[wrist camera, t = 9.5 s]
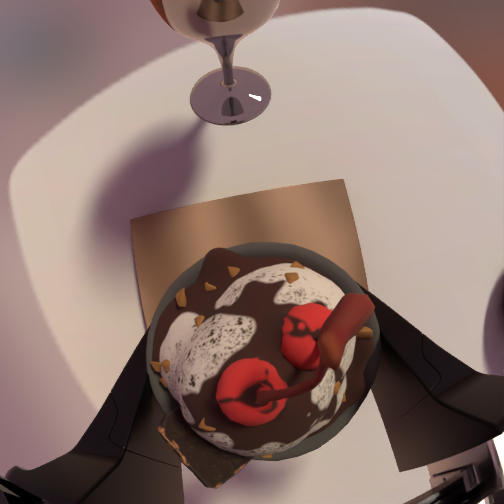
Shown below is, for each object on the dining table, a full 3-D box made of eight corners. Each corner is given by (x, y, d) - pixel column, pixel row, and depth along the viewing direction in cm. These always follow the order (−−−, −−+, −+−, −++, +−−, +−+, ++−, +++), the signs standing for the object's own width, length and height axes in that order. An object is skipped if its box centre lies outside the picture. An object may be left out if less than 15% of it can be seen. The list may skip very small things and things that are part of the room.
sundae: (291, 248, 17) (450, 110, 2) (322, 346, 16) (487, 495, 2) (192, 281, 17) (-30, 276, 2) (226, 378, 16) (162, 586, 1)
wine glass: (168, 99, 21) (108, -34, 6) (230, 53, 21) (218, -74, 6) (230, 146, 20) (201, -27, 5) (294, 92, 21) (324, -55, 6)
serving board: (177, 418, 18) (174, 424, 17) (135, 222, 20) (130, 219, 19) (373, 381, 18) (378, 385, 17) (339, 183, 20) (343, 178, 19)
